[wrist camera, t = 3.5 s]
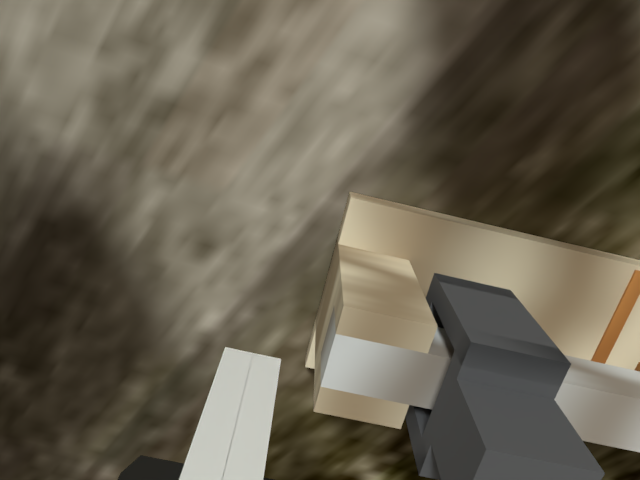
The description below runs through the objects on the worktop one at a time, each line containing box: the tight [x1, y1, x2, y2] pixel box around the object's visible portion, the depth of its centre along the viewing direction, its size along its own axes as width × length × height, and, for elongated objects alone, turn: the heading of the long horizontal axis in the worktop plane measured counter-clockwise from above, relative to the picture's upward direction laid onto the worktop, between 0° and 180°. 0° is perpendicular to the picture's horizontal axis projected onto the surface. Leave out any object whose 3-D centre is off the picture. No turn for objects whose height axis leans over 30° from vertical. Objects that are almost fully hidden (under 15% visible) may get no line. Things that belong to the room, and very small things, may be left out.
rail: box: [305, 192, 640, 453], centre depth 20 cm, size 18×8×7 cm, turn 76°
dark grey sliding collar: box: [405, 273, 605, 480], centre depth 16 cm, size 3×5×8 cm, turn 166°
